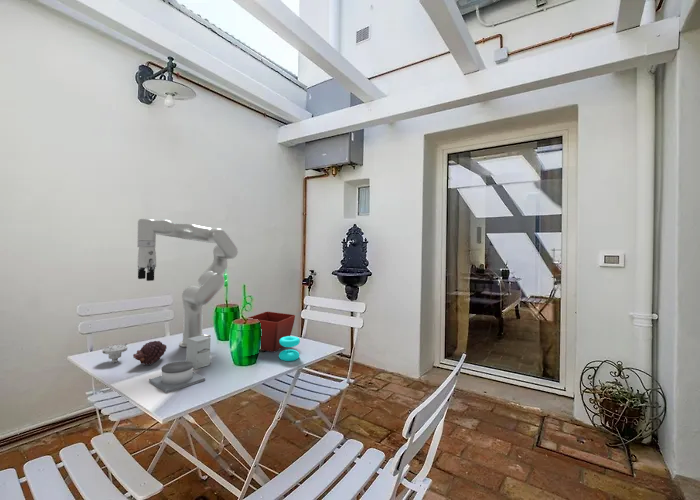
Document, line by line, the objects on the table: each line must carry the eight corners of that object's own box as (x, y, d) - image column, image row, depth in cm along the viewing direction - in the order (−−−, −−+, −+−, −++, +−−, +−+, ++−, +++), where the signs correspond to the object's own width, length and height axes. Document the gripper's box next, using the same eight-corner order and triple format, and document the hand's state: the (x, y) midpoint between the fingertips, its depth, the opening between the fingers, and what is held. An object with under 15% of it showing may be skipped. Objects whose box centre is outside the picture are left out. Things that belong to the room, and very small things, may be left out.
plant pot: (276, 355, 169) (277, 322, 168) (244, 350, 175) (245, 318, 175) (295, 344, 187) (296, 314, 186) (266, 340, 193) (266, 311, 193)
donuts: (275, 337, 164) (291, 334, 172) (274, 358, 165) (290, 353, 172) (287, 342, 158) (304, 338, 165) (287, 363, 158) (303, 358, 165)
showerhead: (133, 344, 156) (109, 350, 147) (132, 360, 156) (109, 366, 147) (121, 341, 160) (98, 346, 152) (121, 356, 160) (97, 362, 152)
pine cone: (157, 355, 163) (157, 335, 163) (175, 357, 161) (175, 337, 161) (126, 368, 146) (127, 346, 145) (146, 371, 144) (147, 348, 144)
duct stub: (186, 370, 145) (186, 357, 145) (205, 380, 136) (205, 365, 136) (149, 381, 133) (149, 366, 133) (166, 392, 124) (166, 376, 124)
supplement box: (195, 369, 147) (196, 341, 147) (185, 366, 151) (186, 338, 151) (210, 365, 153) (211, 337, 153) (200, 361, 157) (201, 334, 157)
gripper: (162, 245, 160) (162, 280, 160) (147, 244, 171) (146, 277, 171) (145, 244, 154) (145, 281, 155) (130, 243, 165) (130, 278, 165)
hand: (145, 279), depth 163 cm, fingers open, 9 cm apart
